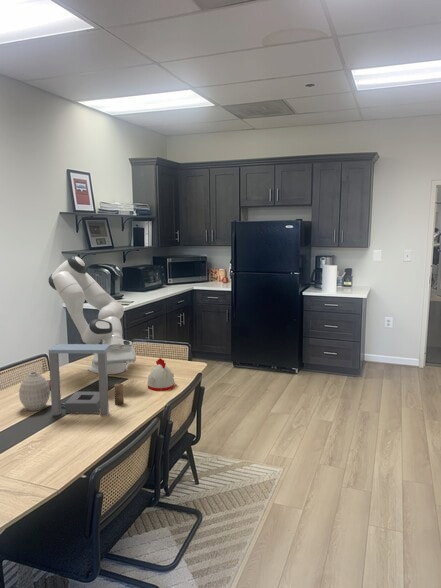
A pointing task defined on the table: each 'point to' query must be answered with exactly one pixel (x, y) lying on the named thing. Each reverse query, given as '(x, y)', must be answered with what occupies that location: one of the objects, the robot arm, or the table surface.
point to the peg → (119, 394)
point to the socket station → (80, 400)
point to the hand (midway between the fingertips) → (115, 370)
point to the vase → (34, 391)
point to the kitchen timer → (161, 377)
